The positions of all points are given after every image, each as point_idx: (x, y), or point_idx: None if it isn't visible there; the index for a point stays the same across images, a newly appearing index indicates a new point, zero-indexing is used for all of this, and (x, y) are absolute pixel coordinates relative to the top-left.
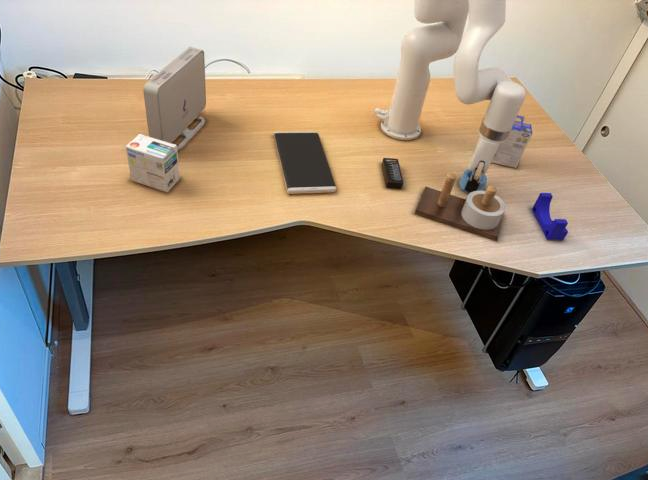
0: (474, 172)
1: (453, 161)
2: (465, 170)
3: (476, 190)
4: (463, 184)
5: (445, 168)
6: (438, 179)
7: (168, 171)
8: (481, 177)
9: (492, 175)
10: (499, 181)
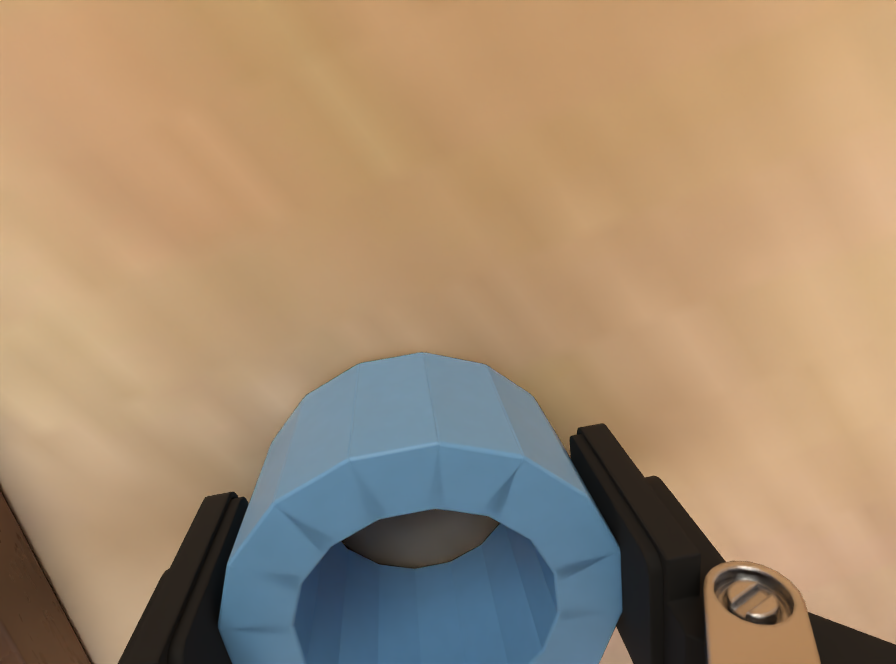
0: (547, 559)
1: (842, 102)
2: (483, 454)
3: None
4: (268, 468)
5: (604, 54)
6: (245, 59)
7: None
8: (510, 647)
9: None
10: None
